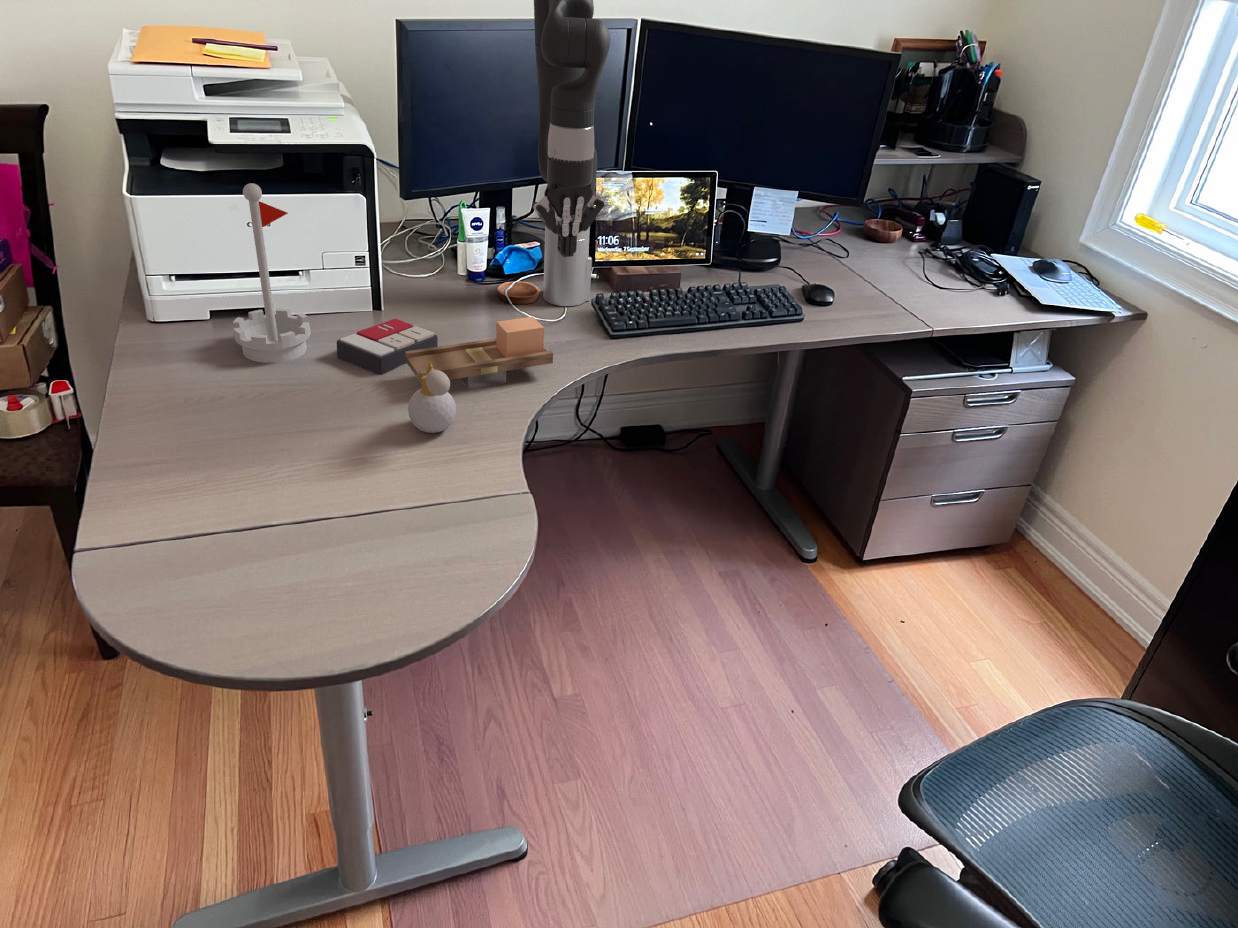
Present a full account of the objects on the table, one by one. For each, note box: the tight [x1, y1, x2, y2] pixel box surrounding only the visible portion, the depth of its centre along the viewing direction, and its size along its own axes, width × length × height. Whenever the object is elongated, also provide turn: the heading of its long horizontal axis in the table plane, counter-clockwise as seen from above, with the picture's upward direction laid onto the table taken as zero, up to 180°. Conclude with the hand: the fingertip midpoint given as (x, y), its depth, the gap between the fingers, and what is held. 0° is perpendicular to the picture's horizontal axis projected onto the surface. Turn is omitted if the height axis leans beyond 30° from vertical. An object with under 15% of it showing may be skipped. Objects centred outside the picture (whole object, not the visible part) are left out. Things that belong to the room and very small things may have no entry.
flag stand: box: [232, 183, 312, 364], centre depth 157 cm, size 13×13×30 cm
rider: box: [495, 316, 545, 358], centre depth 161 cm, size 7×5×5 cm
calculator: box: [336, 318, 439, 376], centre depth 166 cm, size 11×4×15 cm
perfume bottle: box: [407, 362, 457, 434], centre depth 141 cm, size 8×10×12 cm
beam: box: [405, 337, 554, 390], centre depth 160 cm, size 24×9×5 cm, turn 118°
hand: (566, 255), depth 157 cm, fingers closed
